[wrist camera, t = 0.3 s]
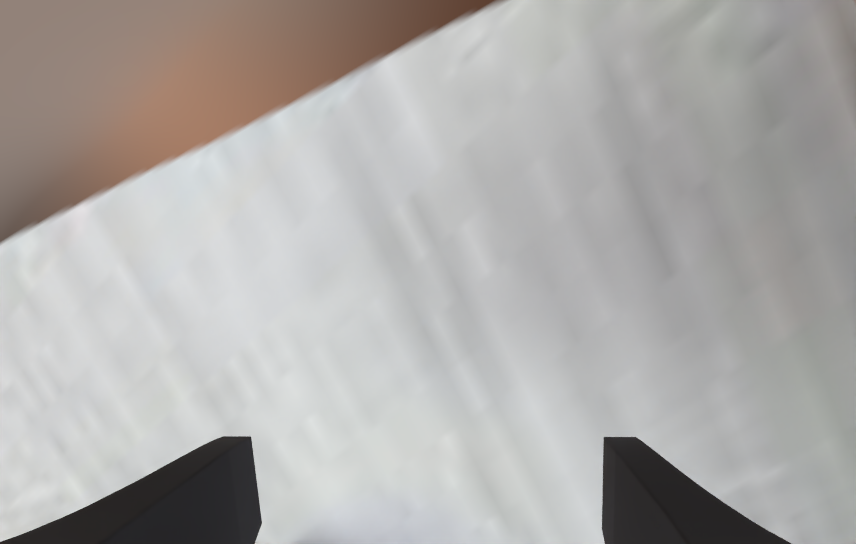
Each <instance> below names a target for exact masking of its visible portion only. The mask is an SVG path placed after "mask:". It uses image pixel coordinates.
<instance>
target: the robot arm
mask: <svg viewBox="0 0 856 544" xmlns="http://www.w3.org/2000/svg"><path fill="white" fill-rule="evenodd" d="M261 524H262V521H261V513H260V505H259V497H258V489H257V481H256V473H255V465H254V457H253V449H252V441H251V437H221V438H218V439H216V440H213V441H211V442H209V443H207V444H205V445H203V446H201V447H199V448H197V449H195V450H193V451H191V452H190V453H188V454H186V455H184V456H182V457H180V458H178V459H177V460H175V461H173V462H171V463H169V464H167V465H166V466H164V467H162V468H160V469H158V470H157V471H155V472H153V473H151V474H149V475H147V476H146V477H144V478H142V479H140V480H138V481H136V482H134V483H132V484H130V485H128V486H126V487H124V488H122V489H120V490H119V491H117V492H115V493H113V494H111V495H109V496H107V497H105V498H103V499H101V500H99V501H97V502H95V503H93V504H91V505H89V506H87V507H85V508H82V509H80V510H78V511H76V512H74V513H72V514H69V515H67V516H65V517H63V518H60V519H58V520H56V521H53V522H51V523H48V524H46V525H44V526H41V527H39V528H36V529H34V530H32V531H29V532H27V533H24V534H21V535H19V536H16V537H13V538H11V539H8V540H5V541H2V542H0V544H254V543H255V540H256V538H257V535H258V532H259V530H260V527H261ZM602 531H603V536H604V541H605V544H791V543H789V542H787V541H786V540H784V539H782V538H780V537H778V536H777V535H775V534H773V533H771V532H769V531H768V530H766V529H764V528H762V527H761V526H759V525H757V524H756V523H754V522H752V521H751V520H749V519H748V518H746V517H745V516H743V515H742V514H740V513H739V512H737V511H735V510H734V509H732V508H731V507H729V506H728V505H726V504H725V503H723V502H722V501H720V500H719V499H717V498H716V497H715V496H713V495H712V494H710V493H709V492H708V491H706V490H705V489H703V488H702V487H701V486H699V485H698V484H696V483H695V482H694V481H692V480H691V479H690V478H688V477H687V476H686V475H685V474H683V473H682V472H681V471H679V470H678V469H677V468H675V467H674V466H673V465H672V464H670V463H669V462H668V461H666V460H665V459H664V458H663V457H661V456H660V455H659V454H658V453H656V452H655V451H654V450H652V449H651V448H650V447H649V446H647V445H646V444H645V443H643V442H642V441H641V440H639V439H638V438H636V437H604V455H603V507H602Z"/></svg>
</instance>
